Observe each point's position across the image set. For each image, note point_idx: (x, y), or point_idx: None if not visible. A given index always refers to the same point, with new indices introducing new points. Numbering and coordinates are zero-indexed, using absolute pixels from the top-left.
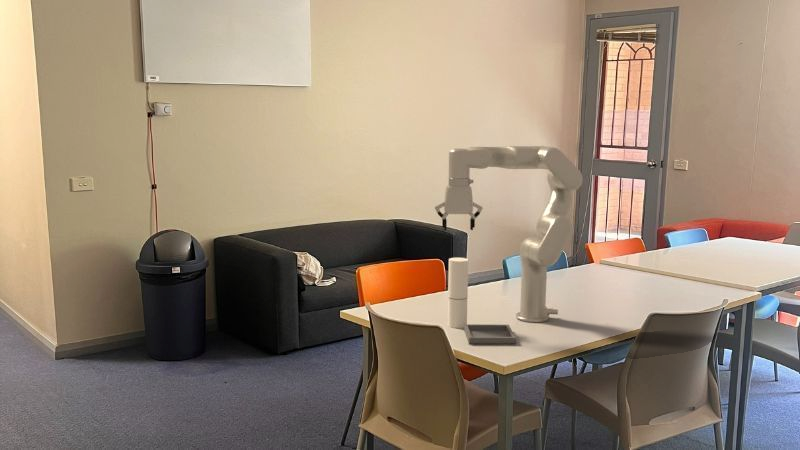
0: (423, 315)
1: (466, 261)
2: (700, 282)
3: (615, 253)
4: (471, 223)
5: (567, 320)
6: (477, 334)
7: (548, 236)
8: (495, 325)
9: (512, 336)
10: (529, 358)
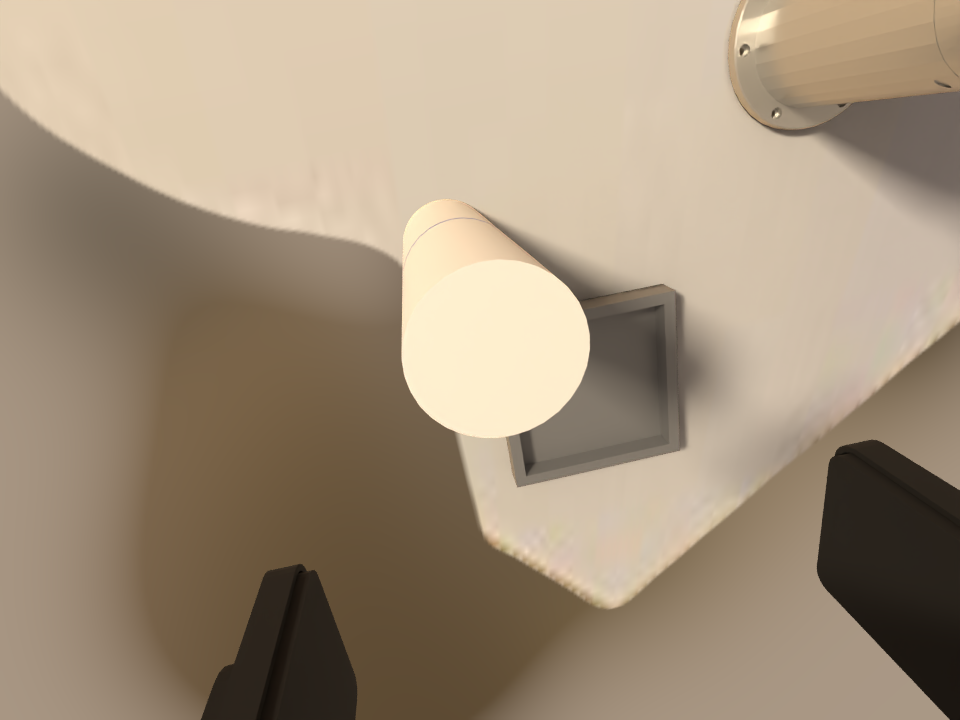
0: (242, 85)
1: (571, 390)
2: None
3: None
4: (937, 692)
5: None
6: None
7: None
8: (619, 313)
9: (669, 438)
10: (689, 543)
